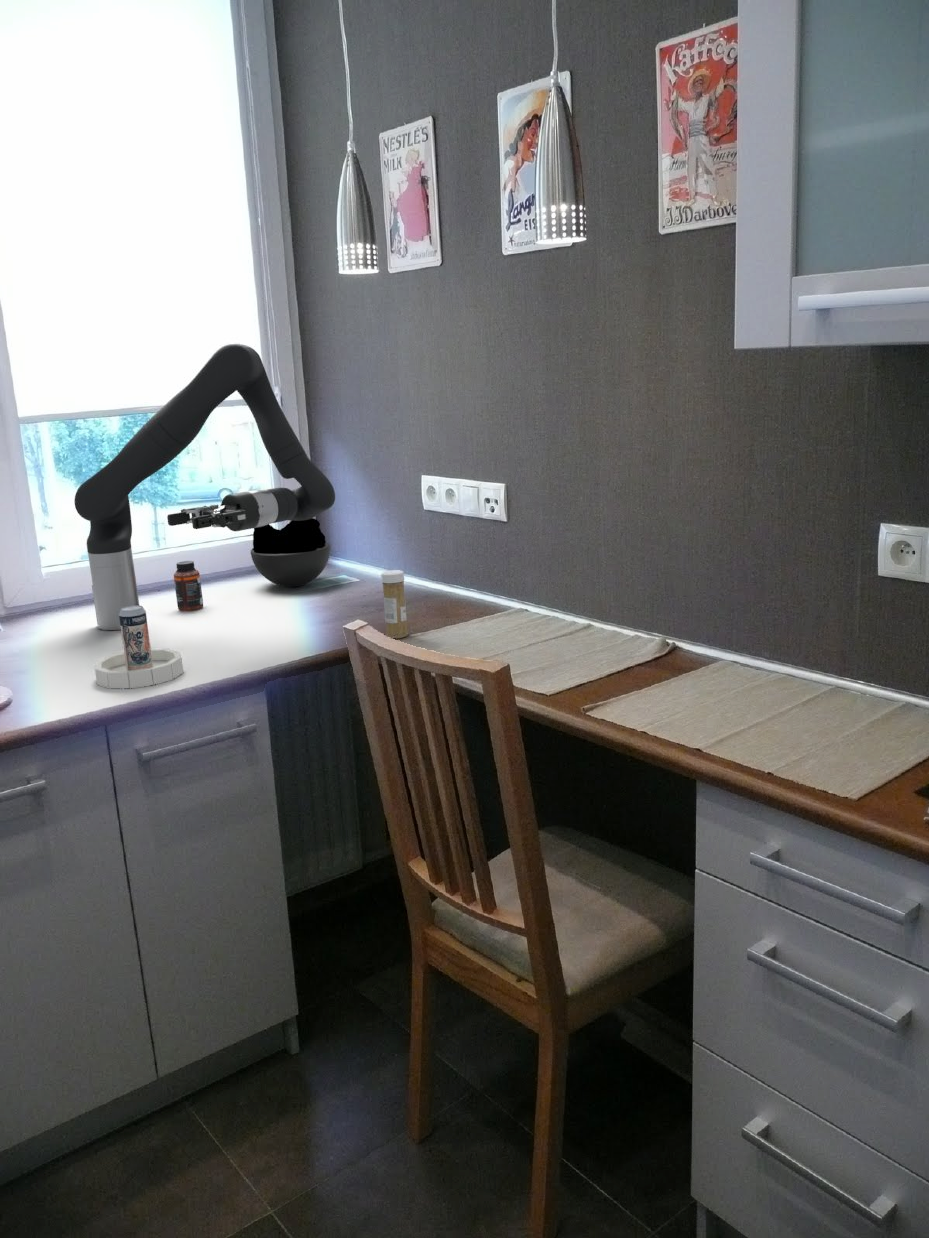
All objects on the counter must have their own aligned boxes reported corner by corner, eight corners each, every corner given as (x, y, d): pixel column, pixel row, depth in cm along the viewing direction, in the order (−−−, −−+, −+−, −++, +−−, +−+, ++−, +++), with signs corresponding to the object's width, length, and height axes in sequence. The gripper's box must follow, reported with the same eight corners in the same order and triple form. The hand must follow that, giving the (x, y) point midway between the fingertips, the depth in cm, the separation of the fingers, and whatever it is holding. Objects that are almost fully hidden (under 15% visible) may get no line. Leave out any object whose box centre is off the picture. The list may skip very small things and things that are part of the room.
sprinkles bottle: (412, 636, 210) (407, 571, 207) (392, 640, 208) (388, 575, 204) (401, 631, 214) (396, 568, 211) (381, 636, 212) (376, 571, 208)
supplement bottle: (209, 607, 246) (203, 560, 243) (190, 613, 241) (184, 565, 238) (191, 605, 249) (185, 559, 246) (172, 610, 244) (166, 563, 241)
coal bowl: (349, 580, 267) (343, 507, 262) (300, 597, 250) (292, 520, 246) (288, 575, 277) (282, 505, 272) (237, 592, 260) (229, 517, 256)
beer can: (129, 675, 190) (120, 612, 187) (124, 669, 194) (116, 607, 191) (155, 670, 192) (147, 608, 189) (150, 664, 196) (142, 603, 193)
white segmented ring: (81, 679, 193) (79, 664, 192) (153, 659, 204) (151, 644, 203) (125, 693, 183) (123, 677, 182) (199, 671, 194) (197, 656, 193)
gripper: (227, 489, 214) (158, 500, 202) (269, 493, 204) (199, 504, 193) (231, 525, 216) (162, 538, 204) (273, 530, 206) (204, 544, 195)
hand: (180, 522), depth 198 cm, fingers open, 8 cm apart
